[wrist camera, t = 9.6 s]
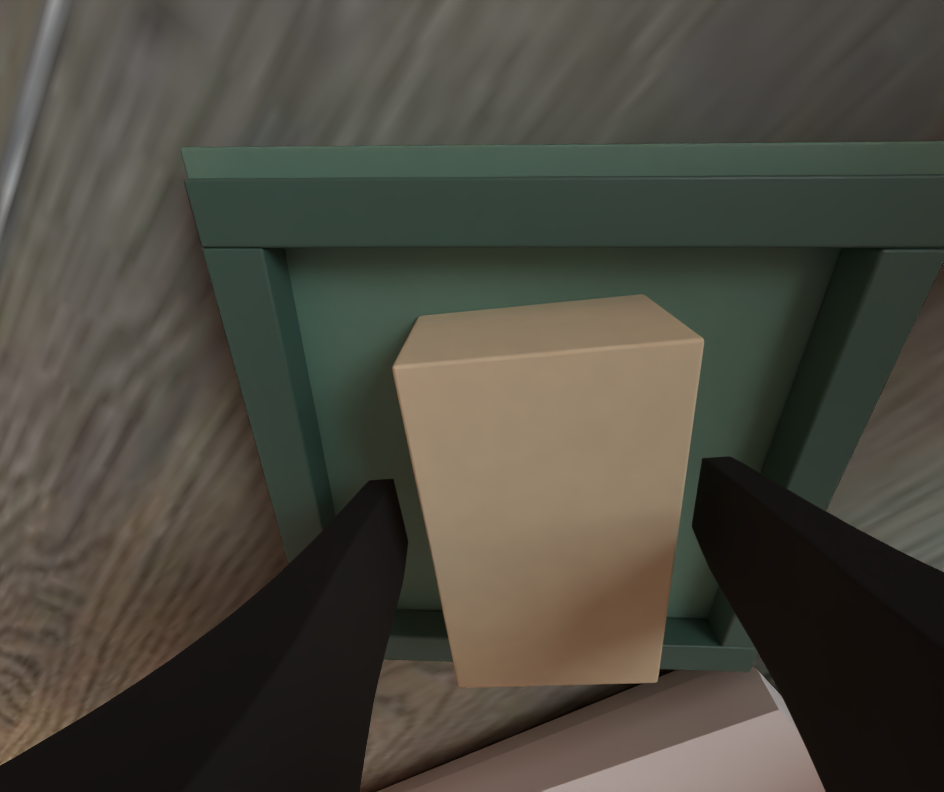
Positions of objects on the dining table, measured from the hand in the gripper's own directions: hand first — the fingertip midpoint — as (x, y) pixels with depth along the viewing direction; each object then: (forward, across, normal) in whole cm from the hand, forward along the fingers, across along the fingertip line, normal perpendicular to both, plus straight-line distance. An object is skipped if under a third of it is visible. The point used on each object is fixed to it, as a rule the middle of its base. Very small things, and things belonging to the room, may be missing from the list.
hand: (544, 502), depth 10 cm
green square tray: (+2, 0, 0) cm, 2 cm away
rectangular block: (+1, 0, 0) cm, 1 cm away
